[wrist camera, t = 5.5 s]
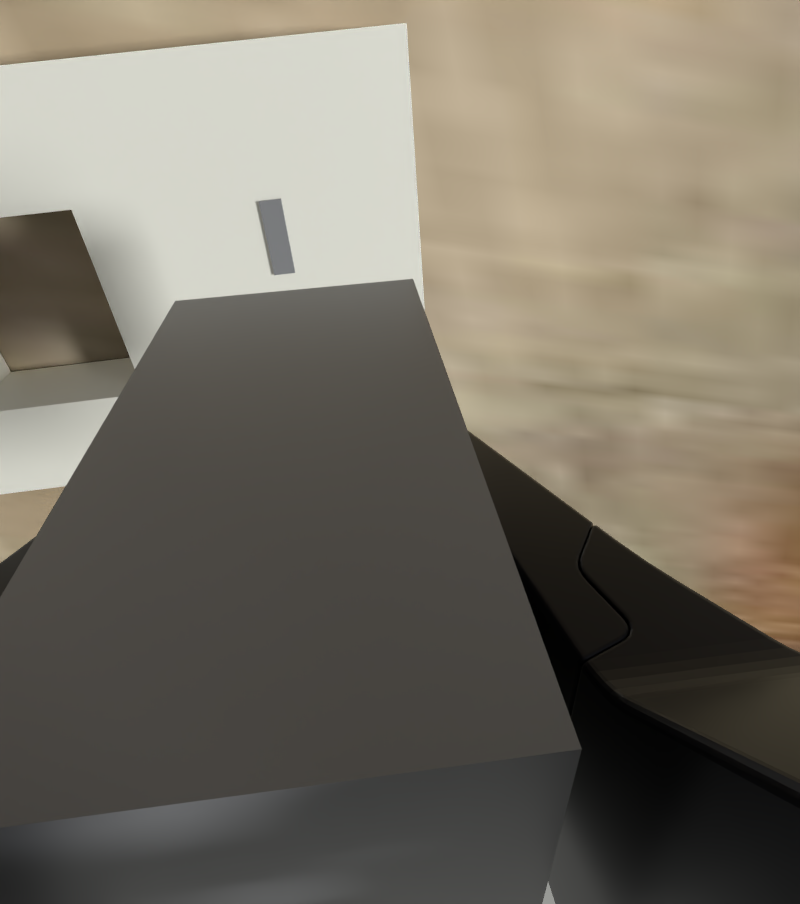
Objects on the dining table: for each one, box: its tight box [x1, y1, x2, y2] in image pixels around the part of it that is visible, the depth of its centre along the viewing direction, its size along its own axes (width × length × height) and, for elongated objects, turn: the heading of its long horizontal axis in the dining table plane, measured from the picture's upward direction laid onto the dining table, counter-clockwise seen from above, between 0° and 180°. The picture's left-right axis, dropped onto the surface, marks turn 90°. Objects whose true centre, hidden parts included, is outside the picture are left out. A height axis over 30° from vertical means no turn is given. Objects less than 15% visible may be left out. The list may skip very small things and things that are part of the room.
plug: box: [0, 279, 582, 904], centre depth 8 cm, size 4×4×8 cm
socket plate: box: [0, 23, 425, 494], centre depth 18 cm, size 18×12×3 cm, turn 95°
